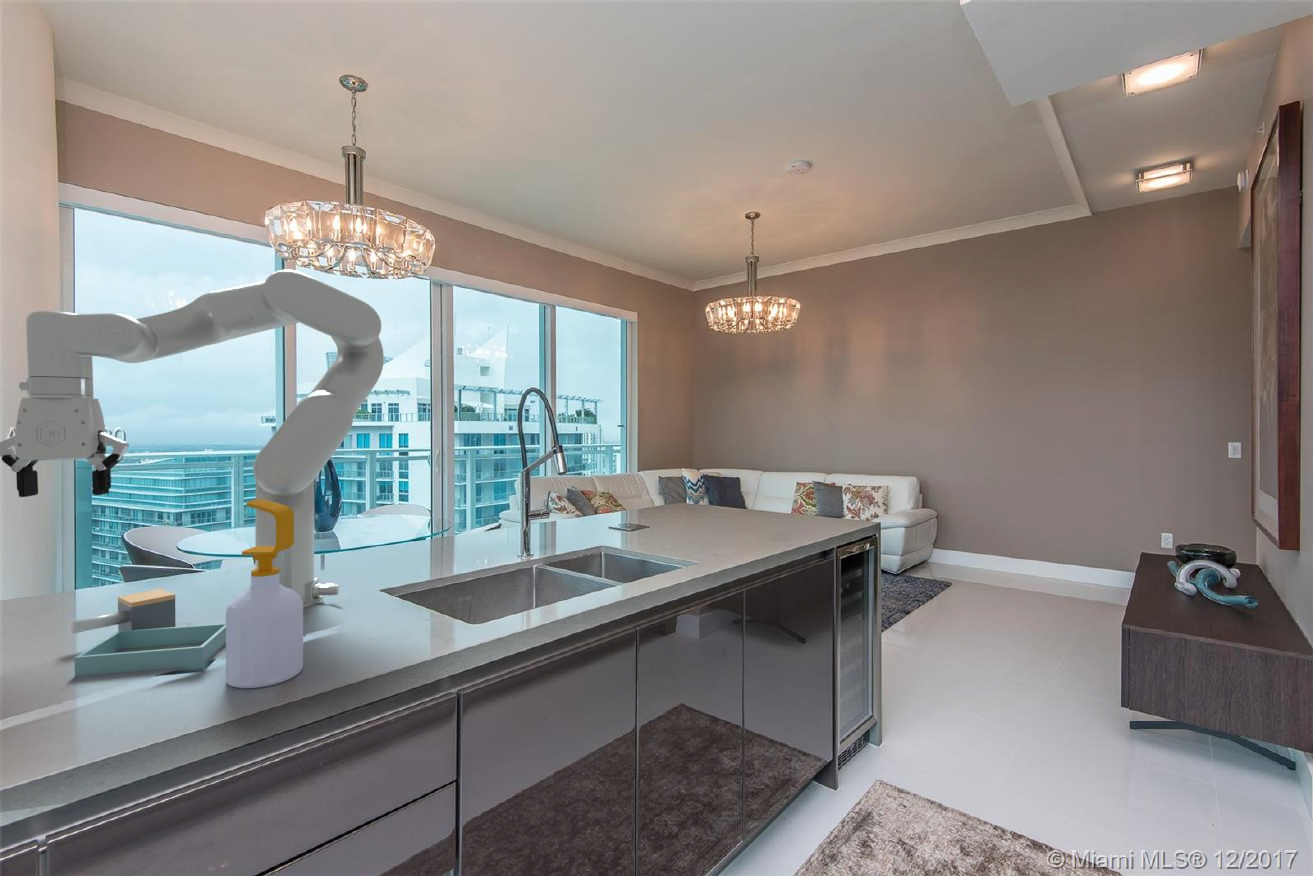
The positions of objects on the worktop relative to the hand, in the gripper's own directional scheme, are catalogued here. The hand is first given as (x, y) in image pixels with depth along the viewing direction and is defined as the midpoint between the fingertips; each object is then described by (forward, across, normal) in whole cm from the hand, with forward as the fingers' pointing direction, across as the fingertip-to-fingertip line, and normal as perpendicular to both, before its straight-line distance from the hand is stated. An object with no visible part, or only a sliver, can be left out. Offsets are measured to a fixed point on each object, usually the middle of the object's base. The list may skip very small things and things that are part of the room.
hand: (65, 495), depth 99 cm
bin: (+23, +20, -17) cm, 35 cm away
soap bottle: (+23, +36, -25) cm, 50 cm away
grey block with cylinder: (+22, +11, -8) cm, 26 cm away
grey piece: (+23, +14, -6) cm, 27 cm away
